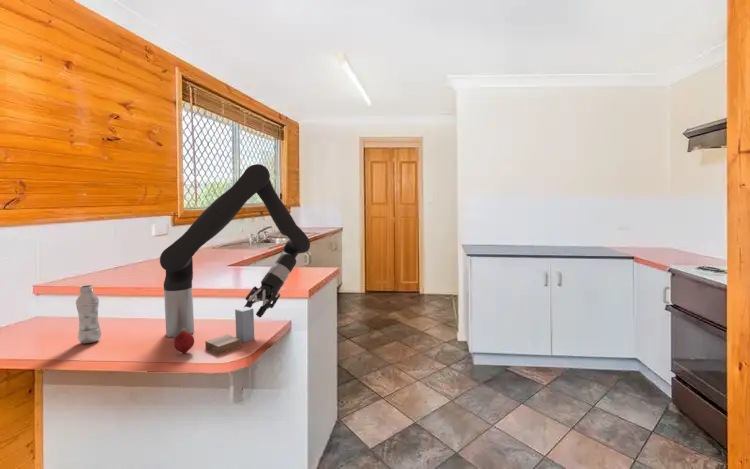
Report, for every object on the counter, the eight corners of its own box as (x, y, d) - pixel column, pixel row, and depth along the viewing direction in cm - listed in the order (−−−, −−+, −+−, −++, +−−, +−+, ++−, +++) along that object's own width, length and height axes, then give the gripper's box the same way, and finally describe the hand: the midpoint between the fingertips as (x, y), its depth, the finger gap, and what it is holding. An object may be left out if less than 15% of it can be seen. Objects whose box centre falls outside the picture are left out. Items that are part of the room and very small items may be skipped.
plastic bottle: (100, 337, 131) (96, 283, 130) (103, 342, 127) (99, 286, 125) (77, 342, 127) (73, 286, 125) (79, 347, 122) (75, 289, 120)
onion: (185, 357, 113) (184, 332, 113) (170, 356, 114) (168, 331, 114) (198, 350, 119) (197, 326, 118) (183, 349, 120) (182, 325, 119)
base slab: (205, 349, 120) (205, 341, 120) (227, 342, 127) (227, 334, 126) (218, 355, 115) (218, 346, 115) (241, 347, 122) (240, 339, 122)
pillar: (236, 339, 128) (235, 309, 127) (247, 336, 132) (246, 306, 131) (243, 342, 126) (242, 311, 125) (254, 338, 129) (253, 308, 128)
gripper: (258, 270, 140) (232, 305, 132) (282, 273, 132) (256, 312, 124) (270, 281, 145) (246, 316, 137) (293, 285, 137) (269, 323, 128)
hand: (250, 314), depth 130 cm, fingers open, 8 cm apart
